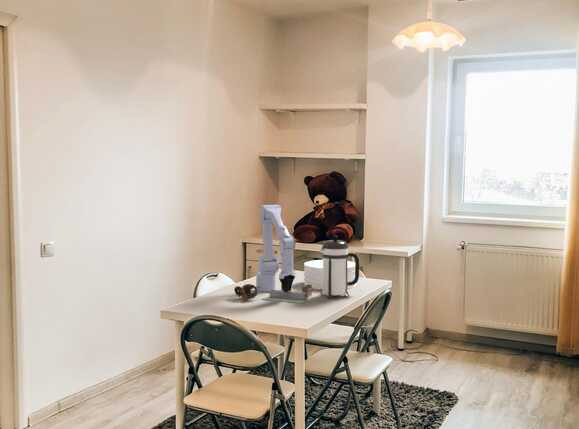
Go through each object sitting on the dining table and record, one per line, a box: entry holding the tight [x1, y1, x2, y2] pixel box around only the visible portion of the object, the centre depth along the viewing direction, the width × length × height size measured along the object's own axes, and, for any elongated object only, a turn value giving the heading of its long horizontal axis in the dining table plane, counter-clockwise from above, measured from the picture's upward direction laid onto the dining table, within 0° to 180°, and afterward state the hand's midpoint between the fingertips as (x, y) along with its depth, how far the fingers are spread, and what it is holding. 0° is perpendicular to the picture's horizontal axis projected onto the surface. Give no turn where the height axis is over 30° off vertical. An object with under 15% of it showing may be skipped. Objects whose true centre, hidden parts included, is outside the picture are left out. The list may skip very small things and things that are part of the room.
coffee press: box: [319, 234, 360, 300], centre depth 307 cm, size 17×16×30 cm
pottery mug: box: [234, 283, 259, 302], centre depth 300 cm, size 12×10×8 cm
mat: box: [262, 294, 309, 304], centre depth 299 cm, size 20×8×1 cm, turn 67°
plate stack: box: [303, 259, 358, 291], centre depth 335 cm, size 28×28×12 cm
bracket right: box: [301, 285, 313, 298], centre depth 307 cm, size 3×6×5 cm, turn 157°
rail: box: [269, 289, 308, 302], centre depth 299 cm, size 18×3×3 cm
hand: (287, 291), depth 298 cm, fingers open, 3 cm apart
